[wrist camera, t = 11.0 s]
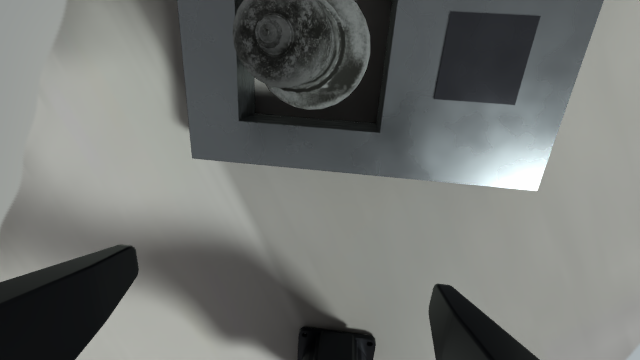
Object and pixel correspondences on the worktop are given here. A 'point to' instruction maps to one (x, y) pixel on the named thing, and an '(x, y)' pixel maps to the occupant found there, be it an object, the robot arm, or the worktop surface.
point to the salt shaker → (303, 48)
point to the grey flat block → (407, 93)
